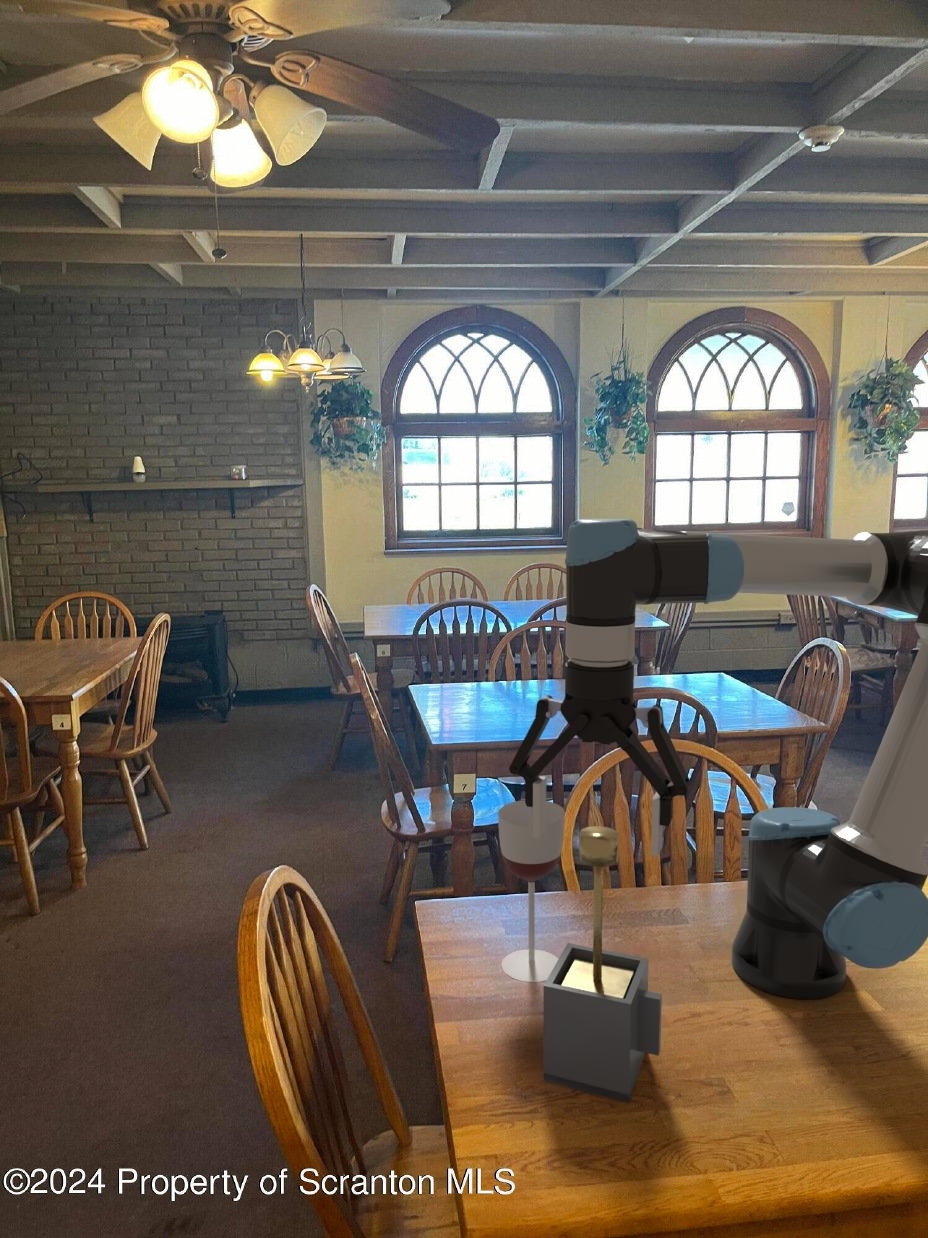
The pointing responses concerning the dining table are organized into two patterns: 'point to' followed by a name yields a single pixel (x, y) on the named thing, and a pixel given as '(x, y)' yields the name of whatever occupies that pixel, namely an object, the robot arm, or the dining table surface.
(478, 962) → the dining table surface
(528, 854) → the wineglass
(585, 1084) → the press pot
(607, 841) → the plunger
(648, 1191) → the dining table surface
